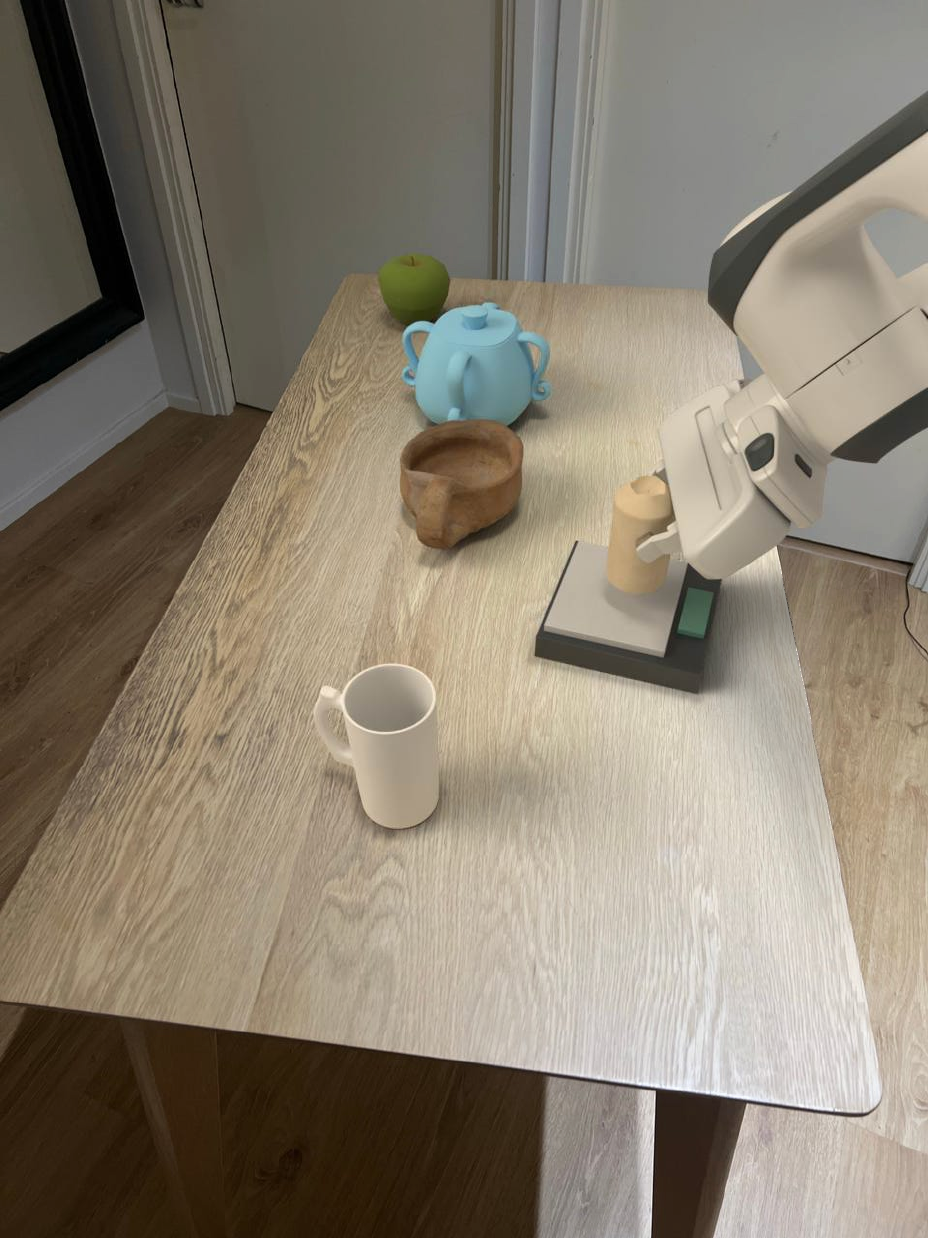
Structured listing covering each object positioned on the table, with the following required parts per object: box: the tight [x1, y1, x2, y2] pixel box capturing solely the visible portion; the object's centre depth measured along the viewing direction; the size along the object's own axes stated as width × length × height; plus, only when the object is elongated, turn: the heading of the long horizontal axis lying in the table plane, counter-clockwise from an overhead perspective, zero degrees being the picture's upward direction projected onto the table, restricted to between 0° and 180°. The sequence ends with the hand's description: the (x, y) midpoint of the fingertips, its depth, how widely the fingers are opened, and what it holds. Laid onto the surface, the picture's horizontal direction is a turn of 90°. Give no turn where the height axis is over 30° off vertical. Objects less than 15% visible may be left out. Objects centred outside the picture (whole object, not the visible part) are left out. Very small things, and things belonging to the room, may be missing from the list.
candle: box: [606, 475, 676, 594], centre depth 78 cm, size 6×6×10 cm
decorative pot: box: [401, 301, 553, 427], centre depth 110 cm, size 16×16×14 cm
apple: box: [377, 253, 451, 327], centre depth 131 cm, size 11×10×10 cm
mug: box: [313, 663, 440, 830], centre depth 68 cm, size 10×7×12 cm, turn 69°
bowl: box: [399, 419, 525, 550], centre depth 95 cm, size 18×14×10 cm
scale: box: [534, 540, 723, 695], centre depth 85 cm, size 15×15×3 cm
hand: (636, 529), depth 78 cm, fingers closed on candle, 5 cm apart
